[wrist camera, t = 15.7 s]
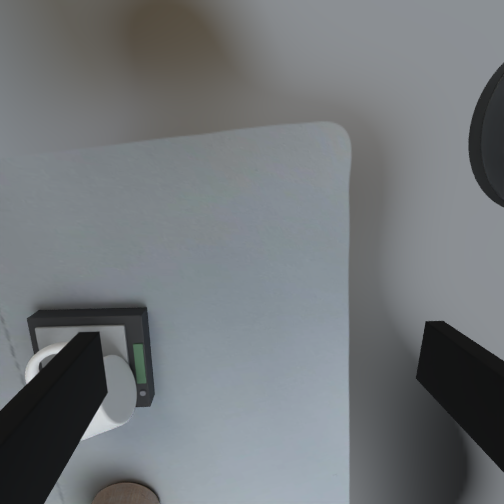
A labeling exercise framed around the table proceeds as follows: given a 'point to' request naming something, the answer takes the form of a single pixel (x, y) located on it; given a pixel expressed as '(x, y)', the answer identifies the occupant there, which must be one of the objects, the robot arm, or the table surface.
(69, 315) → the scale
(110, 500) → the planter
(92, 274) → the table surface
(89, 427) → the mug
